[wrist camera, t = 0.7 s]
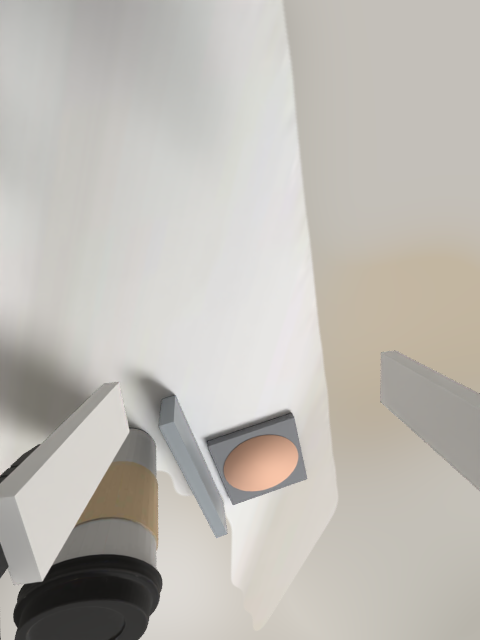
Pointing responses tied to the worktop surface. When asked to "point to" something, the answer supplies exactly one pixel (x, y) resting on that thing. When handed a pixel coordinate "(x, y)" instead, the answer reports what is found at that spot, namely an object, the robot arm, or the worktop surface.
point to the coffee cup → (103, 560)
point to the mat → (259, 458)
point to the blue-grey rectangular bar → (192, 463)
